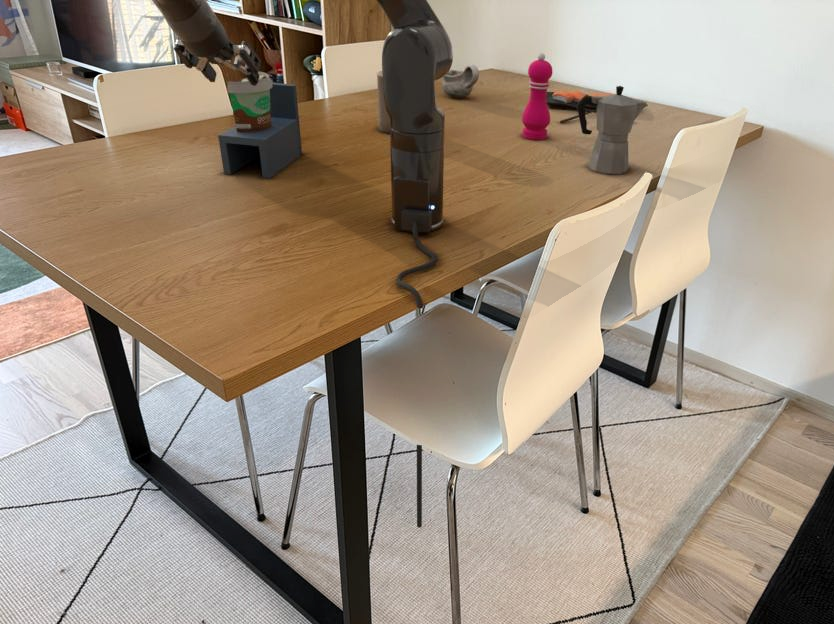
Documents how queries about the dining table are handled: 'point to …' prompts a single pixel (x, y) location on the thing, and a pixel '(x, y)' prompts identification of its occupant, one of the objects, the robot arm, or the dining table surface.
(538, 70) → the pepper mill
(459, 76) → the grey curved hollow piece
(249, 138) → the blue toy chair
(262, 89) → the food container
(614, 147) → the coffeepot
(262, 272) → the dining table surface
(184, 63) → the robot arm
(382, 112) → the pillar candle
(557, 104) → the sushi plate
